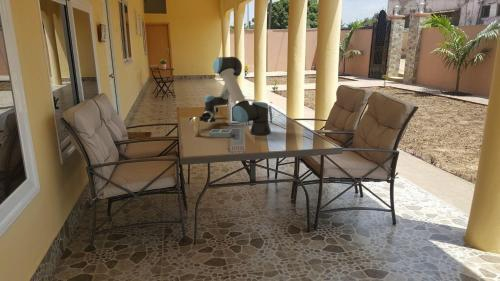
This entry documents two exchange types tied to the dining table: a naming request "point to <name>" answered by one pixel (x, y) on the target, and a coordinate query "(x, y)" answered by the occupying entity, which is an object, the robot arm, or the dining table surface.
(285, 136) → the dining table surface
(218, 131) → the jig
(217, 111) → the pneumatic valve
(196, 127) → the gold metal cylinder
